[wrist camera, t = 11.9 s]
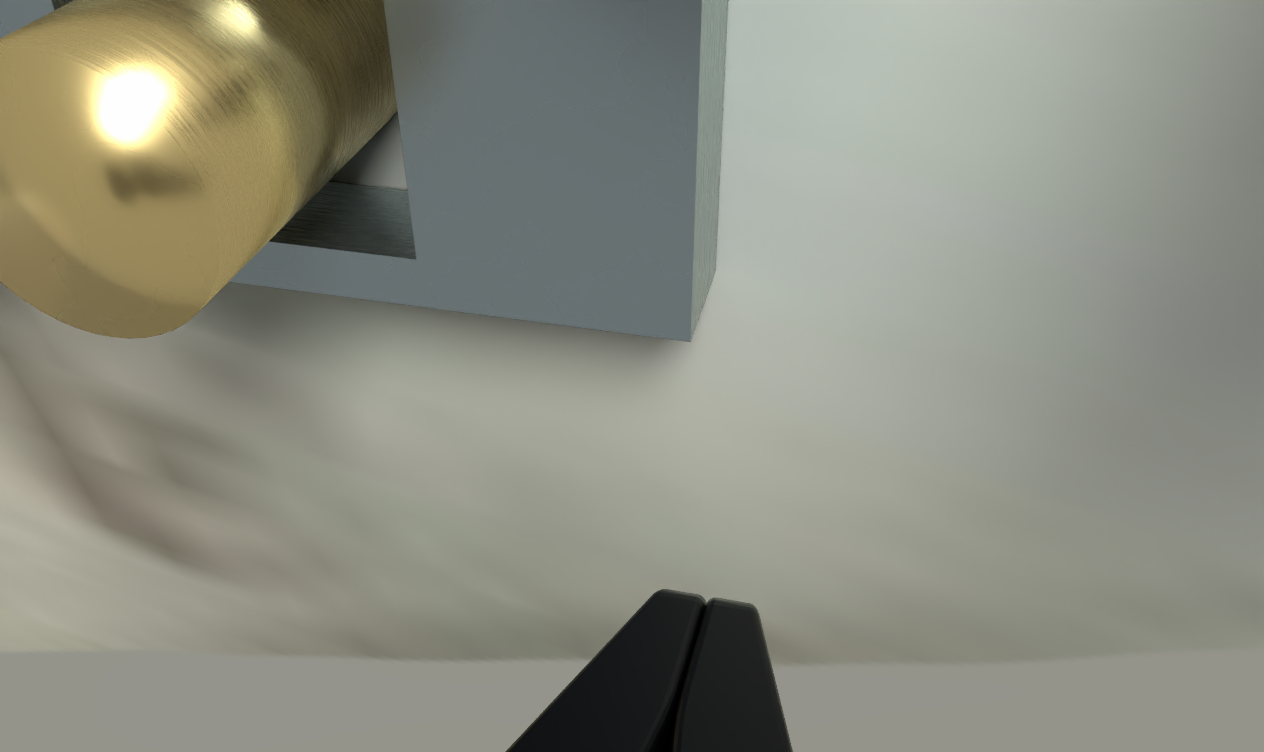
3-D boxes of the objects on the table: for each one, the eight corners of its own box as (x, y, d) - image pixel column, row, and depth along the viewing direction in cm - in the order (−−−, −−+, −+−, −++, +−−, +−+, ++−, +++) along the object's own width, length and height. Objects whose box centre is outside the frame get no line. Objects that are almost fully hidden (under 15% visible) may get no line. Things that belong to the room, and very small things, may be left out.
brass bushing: (425, 153, 22) (246, 356, 17) (218, 131, 23) (-17, 318, 18) (398, -85, 20) (177, 62, 14) (166, -100, 21) (-128, 34, 15)
